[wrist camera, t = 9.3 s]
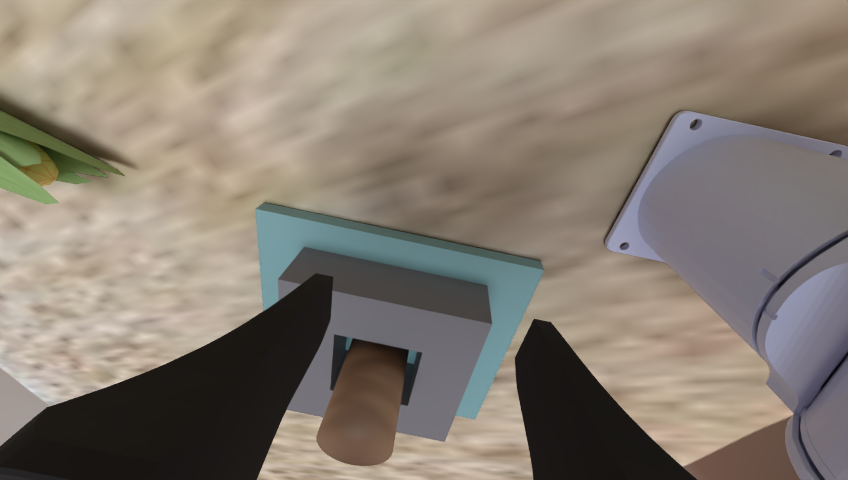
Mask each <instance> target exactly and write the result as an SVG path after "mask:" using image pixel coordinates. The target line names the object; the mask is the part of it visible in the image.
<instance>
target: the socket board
mask: <svg viewBox="0 0 848 480" xmlns="http://www.w3.org/2000/svg"><path fill="white" fill-rule="evenodd" d="M256 221H257V234H258V247H259V260H260V273H261V286H262V299H263V311H265V310H266V309H268V308H269V307H270V306H272V305H273V304H275V303H276V302H278V301H279V300H280V299H282V298H283V297H285V296H286V295H287V294H289V293H290V292H291V291H293V290H294V289H295V288H297V287H298V286H299V285H301V284H302V283H303V282H305V281H306V280H307V279H309V278H310V277H311V276H312V275H314V274H316V273H318V274H323V275H328V276H332V277H333V291H332V307H331V320H330V323H329V325H328V328H327V330H326V333H325V336H324V338H323V341H322V343H321V345H320V347H319V349H318V351H317V353H316V355H315V357H314V359H313V361H312V363H311V364H310V366H309V368H308V370H307V372H306V374H305V376H304V377H303V379H302V381H301V383H300V385H299V387H298V389H297V390H296V392H295V394H294V396H293V398H292V400H291V402H290V403H289V405H288V408H287V410H290V411H295V412H300V413H305V414H310V415H315V416H320V417H324V415H325V412H326V409H327V407H328V404H329V401H330V398H331V396H332V393H333V390H334V388H335V385H336V382H337V379H338V377H339V374H340V371H341V369H342V366H343V363H344V360H345V358H346V355H347V352H348V350H349V347H350V344H351V341H352V339H353V338H355V339H360V340H364V341H369V342H374V343H379V344H384V345H389V346H393V347H398V348H403V349H408V350H409V354H408V360H407V366H406V372H405V378H404V384H403V391H402V397H401V403H400V409H399V415H398V422H397V428H396V432H399V433H404V434H409V435H414V436H419V437H423V438H428V439H433V440H438V441H443V442H445V440H446V437H447V435H448V432H449V430H450V427H451V425H452V422H453V420H454V417H455V415H456V416H461V417H466V418H470V419H475V418H476V416H477V414H478V412H479V410H480V408H481V405H482V403H483V401H484V399H485V397H486V395H487V393H488V390H489V388H490V386H491V384H492V382H493V380H494V377H495V375H496V373H497V371H498V369H499V367H500V364H501V362H502V360H503V358H504V356H505V354H506V352H507V349H508V347H509V345H510V343H511V341H512V339H513V336H514V334H515V332H516V330H517V328H518V326H519V323H520V321H521V319H522V317H523V315H524V313H525V311H526V308H527V306H528V304H529V302H530V300H531V298H532V295H533V293H534V291H535V289H536V287H537V285H538V282H539V280H540V278H541V276H542V274H543V272H544V268H543V266H542V263H541V261H537V260H532V259H527V258H523V257H518V256H513V255H509V254H504V253H499V252H495V251H490V250H485V249H480V248H476V247H471V246H466V245H462V244H457V243H452V242H448V241H443V240H438V239H433V238H429V237H424V236H419V235H415V234H410V233H405V232H401V231H396V230H391V229H386V228H382V227H377V226H372V225H368V224H363V223H358V222H354V221H349V220H344V219H339V218H335V217H330V216H325V215H321V214H316V213H311V212H307V211H302V210H297V209H292V208H288V207H283V206H278V205H274V204H269V203H263V204H261V205H260V206H259V207H257V208H256Z"/></svg>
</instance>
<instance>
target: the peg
mask: <svg viewBox="0 0 848 480" xmlns="http://www.w3.org/2000/svg"><path fill="white" fill-rule="evenodd" d="M408 354H409V350H408V349H403V348H398V347H393V346H389V345H384V344H379V343H374V342H369V341H364V340H360V339H355V338H353V339H352V341H351V344H350V347H349V350H348V352H347V355H346V358H345V360H344V363H343V366H342V369H341V371H340V374H339V377H338V379H337V382H336V385H335V388H334V390H333V393H332V396H331V398H330V401H329V404H328V407H327V409H326V412H325V415H324V417H323V420H322V423H321V425H320V428H319V431H318V434H317V443H318V445H319V447H320V448H321V449H322V450H323V451H324V452H325V453H326V454H327V455H329V456H330V457H332V458H334V459H336V460H338V461H341V462H344V463H347V464H351V465H358V466H371V465H377V464H380V463H383V462H385V461H386V460H388V459H389V458H390V457H391V455H392V452H393V446H394V440H395V434H396V428H397V422H398V415H399V409H400V403H401V397H402V391H403V384H404V378H405V372H406V366H407V360H408Z"/></svg>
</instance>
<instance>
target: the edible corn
mask: <svg viewBox="0 0 848 480" xmlns="http://www.w3.org/2000/svg"><path fill="white" fill-rule="evenodd" d="M89 164H90V165H89ZM91 165H92V166H94V167H97V168H99V169H102V170H105V171H109V172H112V173H115V174H119V175H122V176H125V175H124V174H122V173H121V172H120V171H119V170H118V169H116V168H114V167H112V166H110V165H108V164H106V163H104V162H102V161H100V160H98V159H96V158H94V157H92V156H90V155H88V154H86V153H84V152H82V151H80V150H78V149H76V148H74V147H72V146H70V145H68V144H66V143H64V142H62V141H60V140H58V139H56V138H54V137H52V136H50V135H48V134H46V133H44V132H42V131H40V130H38V129H36V128H34V127H32V126H30V125H28V124H26V123H24V122H23V121H21V120H19V119H17V118H15V117H13V116H11V115H9V114H7V113H5V112H3V111H1V110H0V188H2V189H5V190H8V191H10V192H13V193H16V194H19V195H22V196H24V197H27V198H30V199H33V200H36V201H38V202H41V203H44V204H53V203H59V202H58V201H57V200H56V199H54V198H53V197H52V196H51V195H50V194H49V193H48V192H47V191H46V190H45V189H44V188H43V187H42V186H44V185H50V184H51V183H52V182H54V181H61V182H67V183H73V184H79V183H86V182H90V181H88V180H86V179H84V178H82V177H80V176H78V175H76V174H74V173H72V172H76V173H82V174H89V175H95V176H101V177H108V176H106V175H105V174H103V173H102V172H100V171H99V170H97V169H96V168H94V167H92V166H91Z"/></svg>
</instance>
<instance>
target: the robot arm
mask: <svg viewBox="0 0 848 480" xmlns="http://www.w3.org/2000/svg"><path fill="white" fill-rule="evenodd" d="M696 119H697V124H696V125H695V126H694V127H693V128H691V129H690V124H691V123H692V121H694V120H696ZM833 151H834V152H833ZM832 152H833V154H832V155H830V154H831V153H832ZM624 242H626V244H625V245H624V246H622V247H620V245H621V244H622V243H624ZM605 246H606V247H607V248H608V249H609V250H610V251H613V252H618V253H623V254H627V255H632V256H637V257H641V258H646V259H651V260H656V261H660V262H665V263H667V264H668V265H669V266H670V267H671V268H672V269H673V270H674V271H675V272H676V273H677V274H678V275H679V276H680V277H681V278H682V279H683V280H684V281H685V282H686V283H687V284H688V285H689V286H690V287H691V288H692V289H693V290H694V291H695V292H696V293H697V294H698V295H699V296H700V297H701V298H702V299H703V300H704V301H705V302H706V303H707V304H708V305H709V306H710V307H711V308H712V309H713V310H714V311H715V312H716V313H717V314H718V315H719V316H720V317H721V318H722V319H723V320H724V321H725V322H726V323H727V324H728V325H729V326H730V327H731V328H732V329H733V330H734V331H735V332H736V333H737V334H738V335H739V336H740V337H741V338H742V339H743V340H744V341H745V342H746V343H747V344H748V345H749V346H751V347H752V348H753V349H754V350H755V351H756V352H757V353H758V354H759V355H760V356H761V357H762V358H763V359H764V360H765V362H766V363H767V365H768V366H769V370H770V374H769V378H768V380H767V382H766V384H767V385H768V387H769V388H770V389H771V390H772V391H773V392H774V393H775V394H776V395H777V396H778V397H779V398H780V399H781V400H782V401H783V402H784V403H785V405H786V406H787V407H788V408H789V409H790V410H791V411H792V412H793V413H794V414H793V416H792V417H791V418H790V420H789V421H788V424H787V428H786V431H785V439H786V448H787V451H788V454H789V457H790V460H791V462H792V464H793V466H794V468H795V470H796V472H797V474H798V476H799V478H800V479H801V480H848V146H845V145H841V144H836V143H832V142H827V141H823V140H818V139H814V138H809V137H805V136H800V135H796V134H791V133H787V132H782V131H778V130H773V129H768V128H764V127H759V126H755V125H750V124H746V123H741V122H737V121H732V120H728V119H723V118H719V117H714V116H710V115H705V114H701V113H696V112H692V111H681V112H679V113H677V114H676V115H675V116H674V117H673V118H672V120H671V122H670V123H669V125H668V127H667V129H666V131H665V133H664V134H663V136H662V138H661V140H660V142H659V144H658V145H657V147H656V149H655V151H654V153H653V154H652V156H651V158H650V160H649V162H648V164H647V165H646V167H645V169H644V171H643V173H642V174H641V176H640V178H639V180H638V182H637V184H636V185H635V187H634V189H633V191H632V193H631V195H630V196H629V198H628V200H627V202H626V204H625V205H624V207H623V209H622V211H621V213H620V215H619V216H618V218H617V220H616V222H615V224H614V226H613V227H612V229H611V231H610V233H609V235H608V236H607V238H606V240H605ZM332 291H333V277H332V276H328V275H323V274H318V273H316V274H314V275H312V276H311V277H310V278H309V279H307V280H306V281H305V282H303V283H302V284H301V285H299V286H298V287H297V288H295V289H294V290H293V291H291V292H290V293H289V294H287V295H286V296H285V297H283V298H282V299H280V300H279V301H278V302H276V303H275V304H273V305H272V306H270V307H269V308H268V309H266V310H265V311H263V312H262V313H260V314H258V315H257V316H255V317H254V318H252V319H251V320H249V321H247V322H246V323H244V324H243V325H241V326H239V327H238V328H236V329H234V330H233V331H231V332H229V333H227V334H226V335H224V336H222V337H220V338H218V339H216V340H215V341H213V342H211V343H209V344H207V345H205V346H203V347H201V348H199V349H197V350H195V351H193V352H190V353H188V354H186V355H184V356H182V357H180V358H178V359H175V360H173V361H171V362H169V363H167V364H164V365H162V366H160V367H157V368H155V369H153V370H150V371H148V372H145V373H143V374H140V375H138V376H135V377H133V378H130V379H128V380H125V381H122V382H120V383H117V384H114V385H112V386H109V387H106V388H103V389H100V390H97V391H95V392H92V393H89V394H86V395H83V396H80V397H77V398H74V399H71V400H68V401H65V402H62V403H59V404H56V405H53V406H50V407H47V408H46V409H44V410H43V411H42V412H41V413H39V414H38V415H37V416H36V417H34V418H33V419H32V420H31V421H30V422H28V423H27V424H26V425H25V426H24V427H23V428H21V429H20V430H19V431H18V432H17V433H15V434H14V435H13V436H12V437H11V438H10V439H8V440H7V441H6V442H5V443H4V444H3V445H1V446H0V480H257V478H258V475H259V473H260V470H261V468H262V465H263V463H264V460H265V458H266V456H267V453H268V451H269V448H270V446H271V444H272V441H273V439H274V436H275V434H276V432H277V429H278V427H279V425H280V422H281V420H282V418H283V416H284V414H285V412H286V410H287V408H288V405H289V403H290V402H291V400H292V398H293V396H294V394H295V392H296V390H297V389H298V387H299V385H300V383H301V381H302V379H303V377H304V376H305V374H306V372H307V370H308V368H309V366H310V364H311V363H312V361H313V359H314V357H315V355H316V353H317V351H318V349H319V347H320V345H321V343H322V341H323V338H324V336H325V333H326V330H327V328H328V325H329V323H330V320H331V307H332ZM515 368H516V382H517V390H518V395H519V400H520V406H521V411H522V416H523V421H524V426H525V431H526V436H527V441H528V446H529V451H530V457H531V463H532V470H533V479H534V480H697V479H696V478H695V477H693V476H692V475H691V474H690V473H689V472H687V471H686V470H685V469H684V468H683V467H682V466H681V465H680V464H679V463H678V462H676V461H675V460H674V459H673V458H672V457H671V456H670V455H669V454H668V453H666V452H665V451H664V450H663V449H662V448H661V447H660V446H659V445H658V444H657V443H656V442H655V441H654V440H653V439H652V438H650V437H649V436H648V435H647V434H646V433H645V432H644V431H643V430H642V429H641V428H640V427H639V425H638V424H637V423H636V422H635V421H634V420H633V419H632V418H631V417H630V416H629V415H628V414H627V413H626V412H625V411H624V410H623V409H622V408H621V407H620V406H619V405H618V404H617V402H616V401H615V400H614V399H613V398H612V397H611V396H610V395H609V393H608V392H607V391H606V390H605V389H604V388H603V387H602V385H601V384H600V383H599V382H598V381H597V379H596V378H595V377H594V376H593V375H592V373H591V372H590V371H589V370H588V368H587V367H586V366H585V365H584V364H583V362H582V361H581V360H580V358H579V357H578V356H577V355H576V353H575V352H574V351H573V350H572V348H571V347H570V346H569V344H568V343H567V342H566V341H565V339H564V338H563V337H562V335H561V334H560V333H559V332H558V330H557V329H556V328H555V327H554V325H553V324H552V323H551V322H547V321H542V320H537V319H534V320H533V322H532V324H531V326H530V328H529V330H528V332H527V334H526V336H525V338H524V340H523V342H522V344H521V347H520V349H519V351H518V353H517V355H516V357H515Z"/></svg>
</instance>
